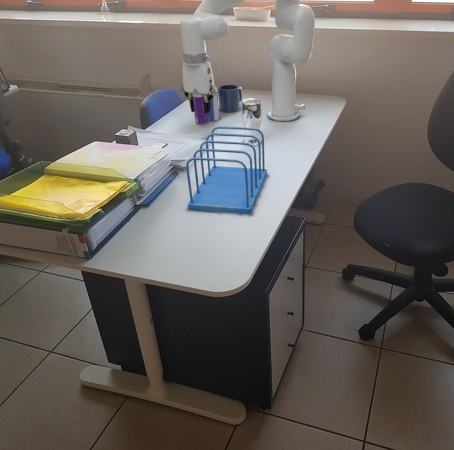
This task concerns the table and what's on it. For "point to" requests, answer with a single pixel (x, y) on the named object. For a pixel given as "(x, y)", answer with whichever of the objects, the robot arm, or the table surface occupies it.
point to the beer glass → (252, 119)
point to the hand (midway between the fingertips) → (201, 111)
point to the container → (199, 109)
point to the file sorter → (227, 179)
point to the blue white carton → (214, 109)
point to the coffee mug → (229, 98)
